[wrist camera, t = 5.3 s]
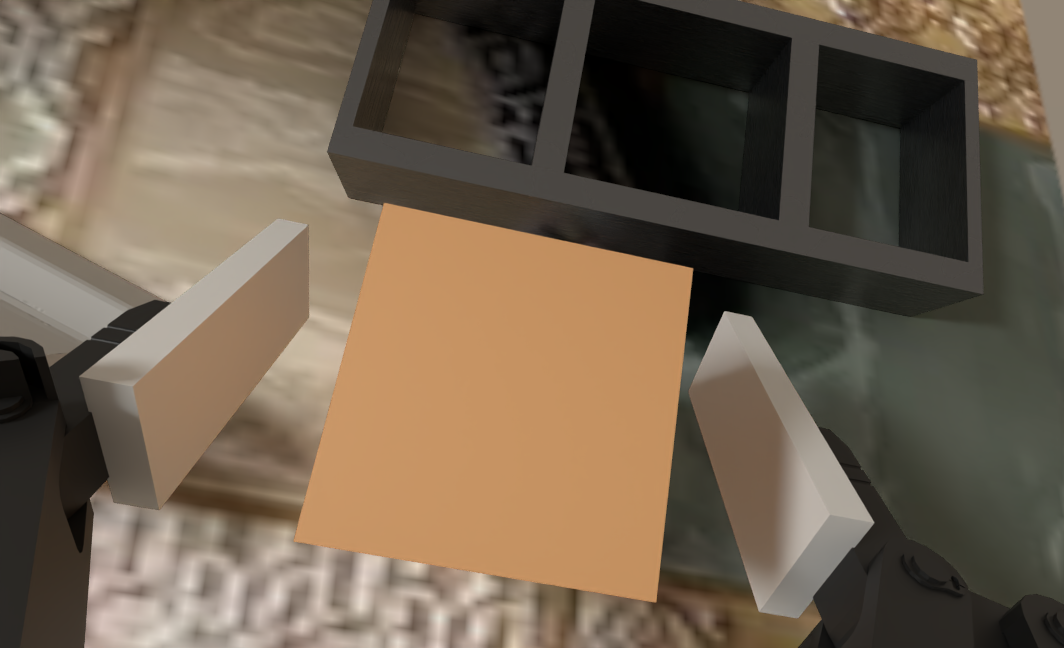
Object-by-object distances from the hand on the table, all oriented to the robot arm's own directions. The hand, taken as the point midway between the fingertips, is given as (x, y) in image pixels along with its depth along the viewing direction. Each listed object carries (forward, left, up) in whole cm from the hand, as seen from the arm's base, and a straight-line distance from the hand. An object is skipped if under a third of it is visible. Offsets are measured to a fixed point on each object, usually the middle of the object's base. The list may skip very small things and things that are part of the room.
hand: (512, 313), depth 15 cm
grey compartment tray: (-1, +10, -4) cm, 10 cm away
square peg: (+1, -2, -4) cm, 5 cm away
